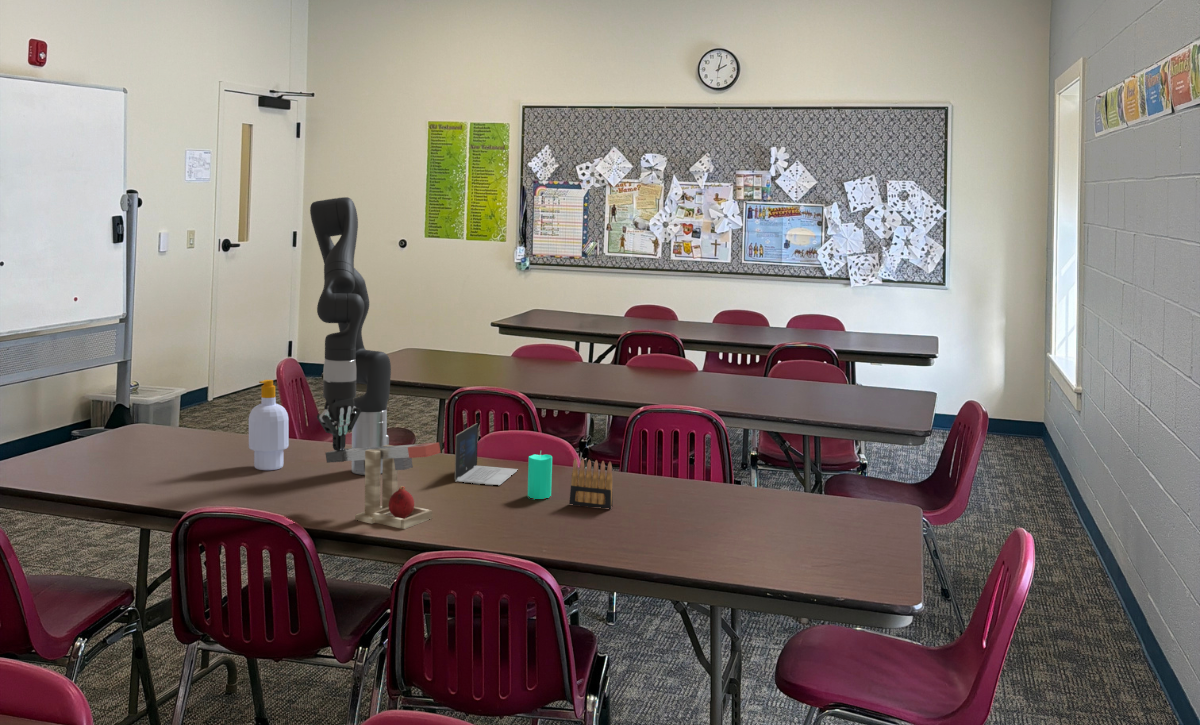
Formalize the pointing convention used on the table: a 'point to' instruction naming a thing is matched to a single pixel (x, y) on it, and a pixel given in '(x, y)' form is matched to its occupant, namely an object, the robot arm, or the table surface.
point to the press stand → (385, 494)
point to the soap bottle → (268, 430)
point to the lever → (385, 454)
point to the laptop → (475, 461)
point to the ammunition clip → (591, 485)
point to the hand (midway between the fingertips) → (338, 450)
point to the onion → (401, 503)
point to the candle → (539, 476)
